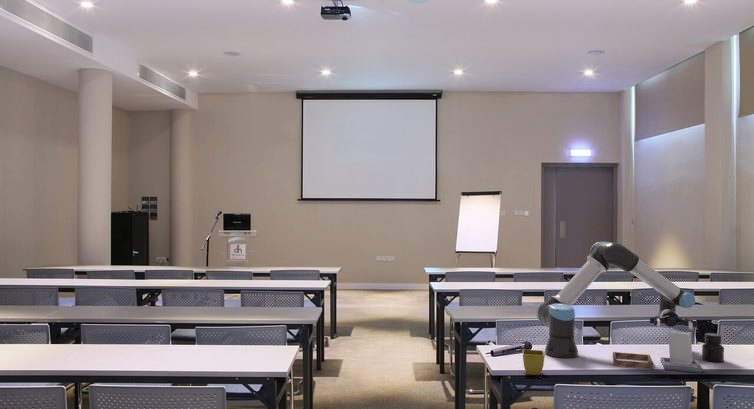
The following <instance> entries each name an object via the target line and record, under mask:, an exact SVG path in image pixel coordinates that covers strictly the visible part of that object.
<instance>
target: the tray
mask: <svg viewBox="0 0 754 409" xmlns="http://www.w3.org/2000/svg"><path fill="white" fill-rule="evenodd" d="M659 359H660V360H659V361H661V362H660V363H662V364H661V366H662V365H663V366H662V368H663V367H664V368H663V370H666V371H667V370H668V371H676V372H677V371H678V372H689V373H699V374H700V373H701V374H704V367H702V365H701V364H700V362H699V361H698V359H692V366H691V367H689V366H677V365H670V357H664V356H663V357H662V356H661V357H660V358H659Z"/></svg>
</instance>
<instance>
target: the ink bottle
mask: <svg viewBox="0 0 754 409" xmlns="http://www.w3.org/2000/svg"><path fill="white" fill-rule="evenodd" d="M701 351H702V352H701V358H702V360H703V361H706V362H710V363H722V362H725V348H724V346H723V345H722V335H721V334H719V333H712V332H707V333H704V344H702V346H701Z"/></svg>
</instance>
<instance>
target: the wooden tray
mask: <svg viewBox="0 0 754 409" xmlns="http://www.w3.org/2000/svg"><path fill="white" fill-rule="evenodd" d="M623 358H627V359H628V360H627V359H623ZM635 360H637V361H635ZM612 361H613V366H614V367H623V366H626V367H625V368H638V369H648V370H654V362H653V359H652V357H651V355H650V354H644V353H634V352H633V353H632V352H630V353H629V352H622V351H621V352H620V351H619V352H618V351H612Z"/></svg>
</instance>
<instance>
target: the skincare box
mask: <svg viewBox="0 0 754 409" xmlns="http://www.w3.org/2000/svg"><path fill="white" fill-rule="evenodd" d="M692 342H693V341H692V332H691V331H690V332H689V331H680V330H679V331H677V330H671V331H670V332H668V346H669V358H670V365H677V366H689V367H691V366H692V360H693V349H692Z"/></svg>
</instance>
